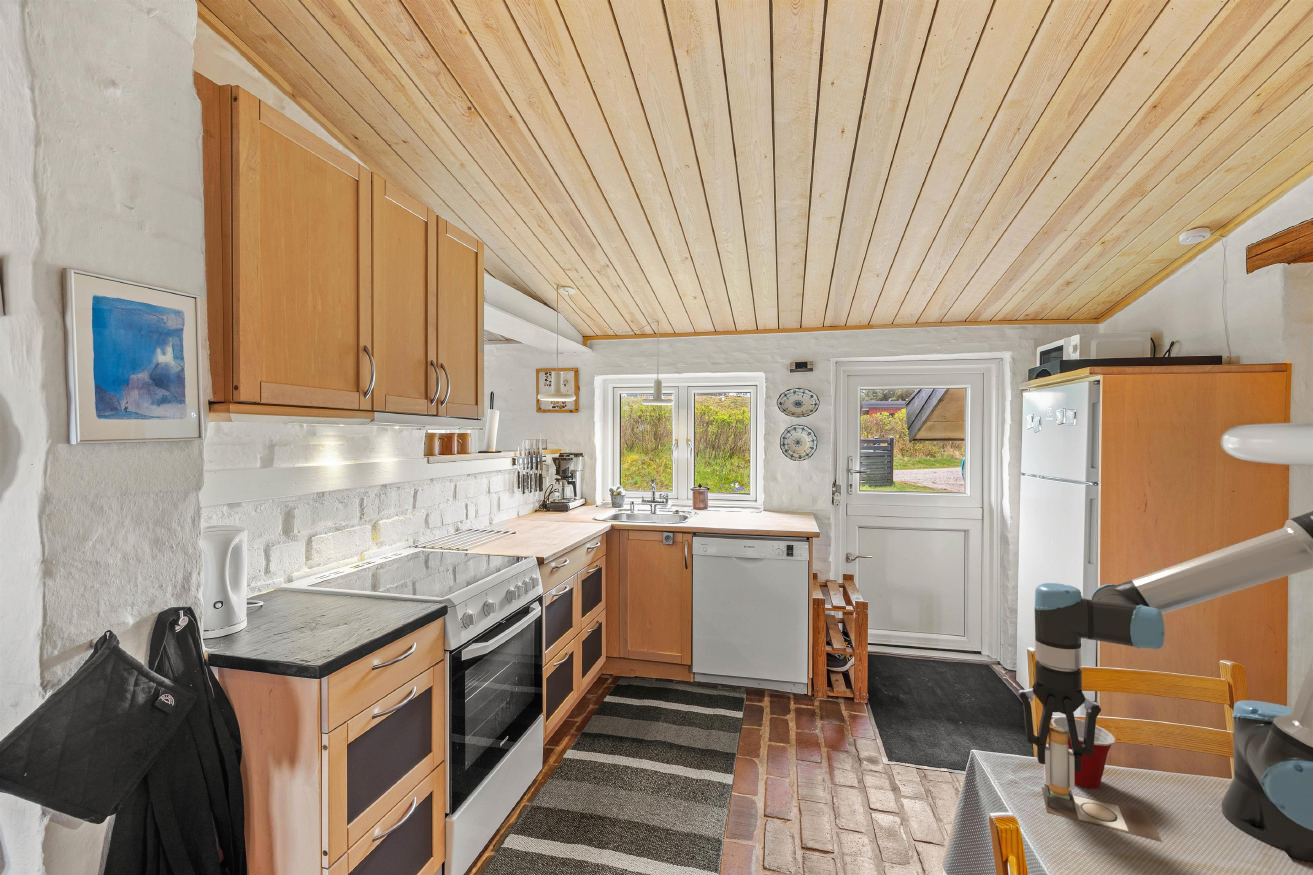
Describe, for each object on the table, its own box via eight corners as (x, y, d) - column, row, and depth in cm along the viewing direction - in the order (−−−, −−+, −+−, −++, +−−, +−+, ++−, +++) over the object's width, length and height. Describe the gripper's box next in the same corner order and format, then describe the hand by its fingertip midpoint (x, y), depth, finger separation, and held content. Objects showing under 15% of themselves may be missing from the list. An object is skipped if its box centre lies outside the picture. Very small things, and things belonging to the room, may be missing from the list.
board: (1147, 817, 109) (1147, 801, 109) (1162, 847, 101) (1162, 830, 101) (1041, 791, 117) (1041, 777, 117) (1047, 817, 109) (1047, 801, 109)
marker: (1067, 788, 113) (1067, 728, 113) (1070, 797, 110) (1070, 735, 110) (1047, 783, 114) (1047, 724, 114) (1049, 792, 111) (1049, 731, 111)
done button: (1067, 798, 112) (1067, 788, 112) (1069, 807, 110) (1069, 797, 110) (1049, 794, 114) (1049, 784, 114) (1051, 803, 111) (1051, 792, 111)
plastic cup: (1128, 803, 113) (1127, 743, 113) (1067, 797, 115) (1066, 738, 115) (1097, 772, 124) (1097, 717, 124) (1042, 766, 126) (1041, 712, 126)
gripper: (1105, 664, 111) (1106, 784, 111) (1008, 650, 119) (1009, 762, 119) (1114, 679, 105) (1115, 806, 105) (1010, 663, 113) (1011, 781, 112)
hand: (1058, 782), depth 112 cm, fingers closed on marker, 3 cm apart
